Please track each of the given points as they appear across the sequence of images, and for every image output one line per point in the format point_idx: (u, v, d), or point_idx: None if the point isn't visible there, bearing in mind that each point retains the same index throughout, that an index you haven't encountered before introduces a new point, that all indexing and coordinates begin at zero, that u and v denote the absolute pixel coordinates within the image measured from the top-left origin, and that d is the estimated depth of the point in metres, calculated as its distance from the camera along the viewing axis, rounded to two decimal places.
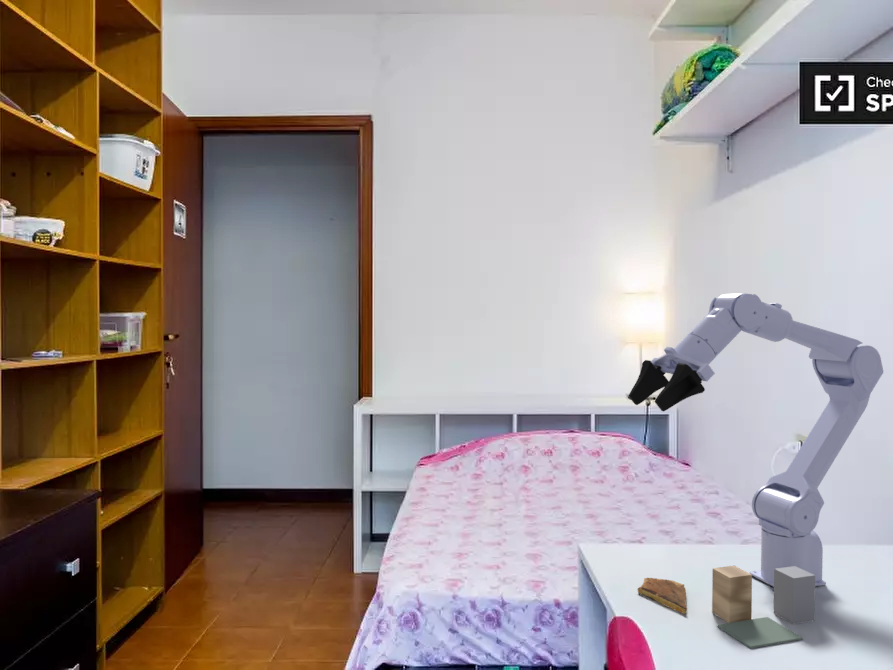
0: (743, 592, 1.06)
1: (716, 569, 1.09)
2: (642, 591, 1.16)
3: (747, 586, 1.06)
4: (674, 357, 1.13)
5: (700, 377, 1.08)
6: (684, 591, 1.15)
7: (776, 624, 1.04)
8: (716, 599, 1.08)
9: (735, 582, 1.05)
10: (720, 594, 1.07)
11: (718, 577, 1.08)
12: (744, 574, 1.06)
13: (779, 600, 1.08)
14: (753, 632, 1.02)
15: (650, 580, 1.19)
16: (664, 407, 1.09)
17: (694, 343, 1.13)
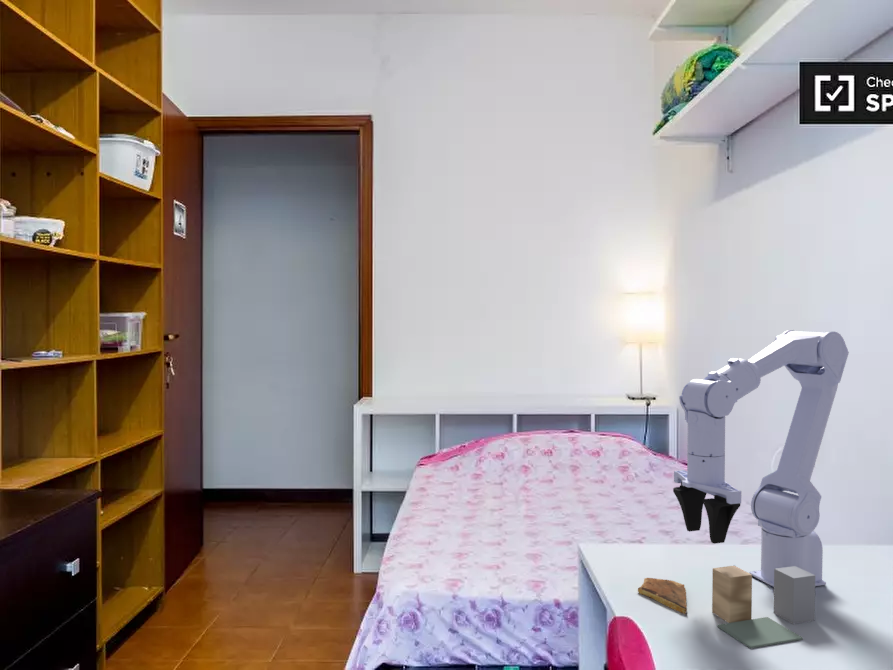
0: (743, 592, 1.06)
1: (716, 569, 1.09)
2: (642, 591, 1.16)
3: (747, 586, 1.06)
4: (696, 487, 1.12)
5: None
6: (684, 591, 1.15)
7: (776, 624, 1.04)
8: (716, 599, 1.08)
9: (735, 582, 1.05)
10: (720, 594, 1.07)
11: (718, 577, 1.08)
12: (744, 574, 1.06)
13: (779, 600, 1.08)
14: (753, 632, 1.02)
15: (650, 580, 1.19)
16: (722, 540, 1.10)
17: (701, 465, 1.11)
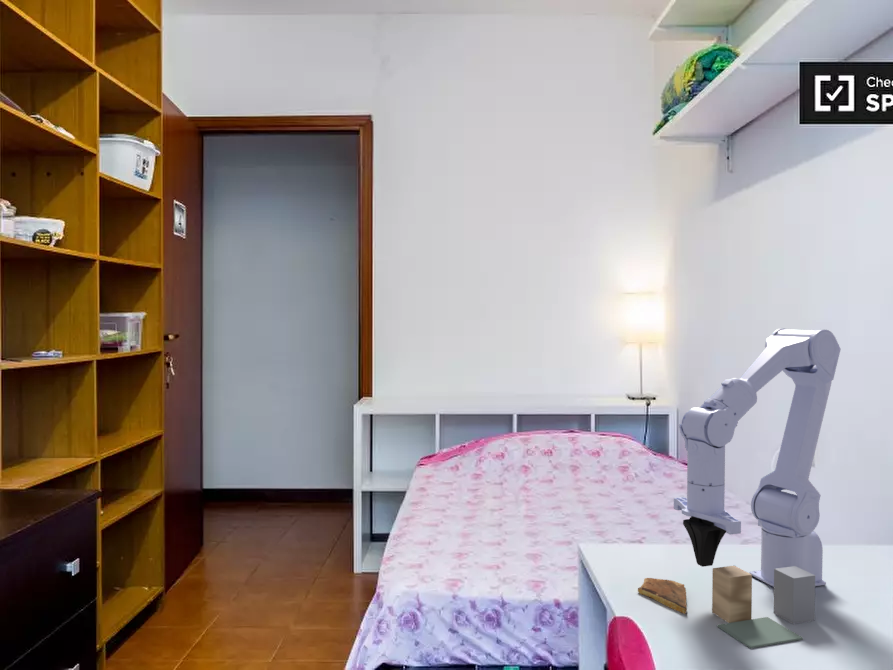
0: (743, 592, 1.06)
1: (716, 569, 1.09)
2: (642, 591, 1.16)
3: (747, 586, 1.06)
4: (695, 516, 1.12)
5: None
6: (684, 591, 1.15)
7: (776, 624, 1.04)
8: (716, 599, 1.08)
9: (735, 582, 1.05)
10: (720, 594, 1.07)
11: (718, 577, 1.08)
12: (743, 574, 1.06)
13: (779, 600, 1.08)
14: (753, 632, 1.02)
15: (650, 580, 1.19)
16: (710, 563, 1.13)
17: (701, 494, 1.11)
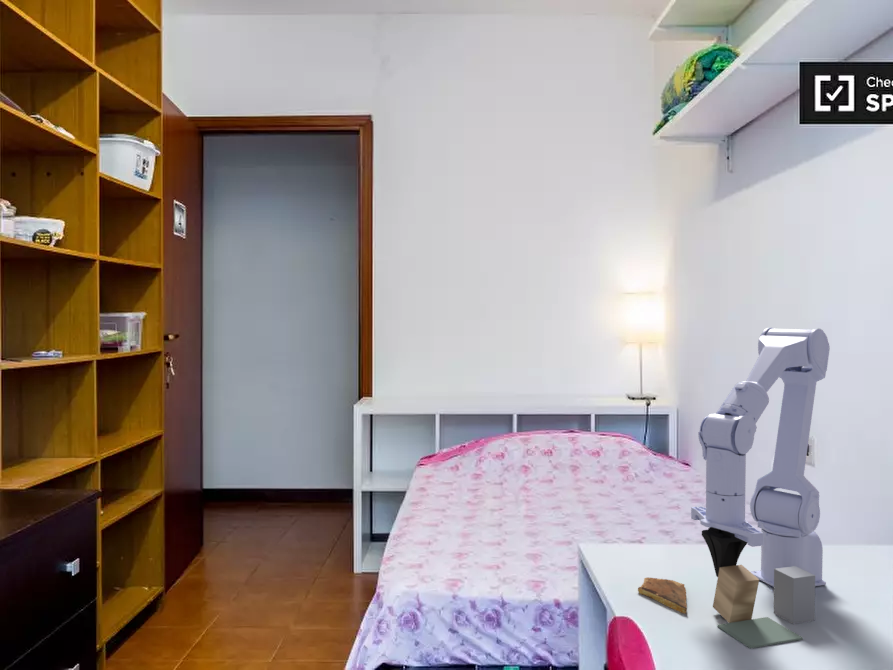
0: (748, 595, 1.05)
1: (723, 569, 1.07)
2: (642, 591, 1.16)
3: (753, 590, 1.05)
4: None
5: None
6: (684, 591, 1.15)
7: (776, 624, 1.04)
8: (719, 597, 1.07)
9: (741, 586, 1.04)
10: (723, 594, 1.06)
11: (724, 577, 1.06)
12: (751, 578, 1.05)
13: (779, 600, 1.08)
14: (753, 632, 1.02)
15: (651, 580, 1.19)
16: None
17: (721, 504, 1.06)
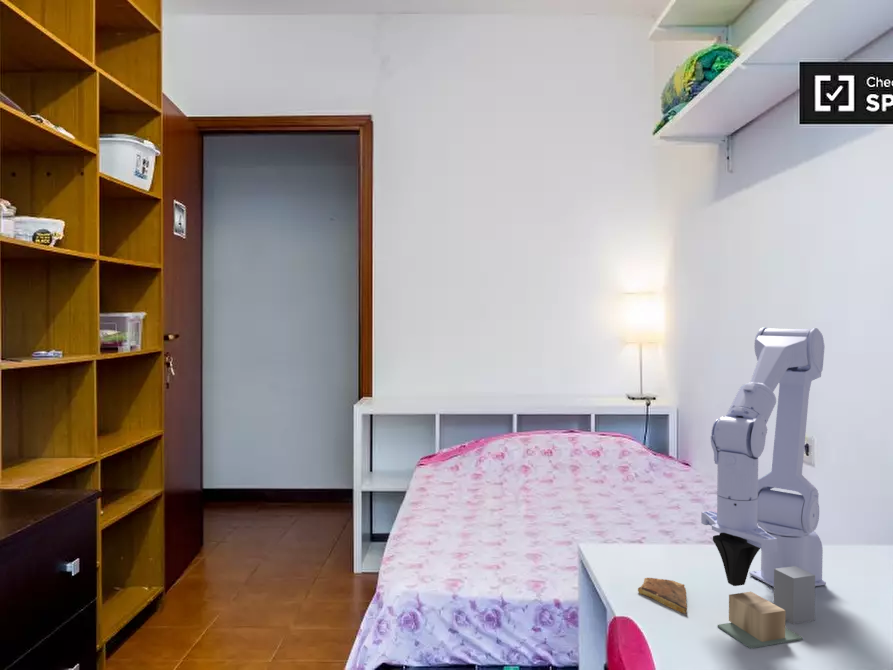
0: None
1: (763, 617, 0.99)
2: (642, 591, 1.16)
3: None
4: (727, 532, 1.05)
5: None
6: (684, 591, 1.15)
7: None
8: (740, 608, 1.03)
9: None
10: (745, 616, 1.02)
11: (757, 621, 1.00)
12: (778, 635, 1.00)
13: (779, 600, 1.08)
14: None
15: (651, 580, 1.19)
16: (742, 582, 1.06)
17: (733, 509, 1.04)
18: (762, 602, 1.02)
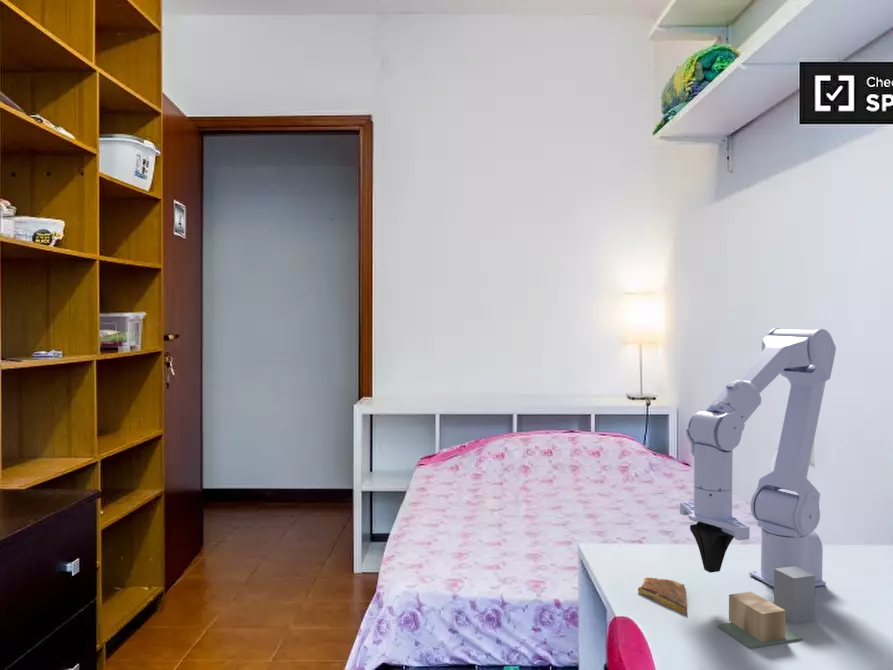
0: None
1: (763, 617, 0.99)
2: (642, 591, 1.16)
3: None
4: (703, 521, 1.10)
5: None
6: (684, 591, 1.15)
7: None
8: (740, 608, 1.03)
9: None
10: (745, 616, 1.02)
11: (757, 621, 1.00)
12: (778, 635, 1.00)
13: (779, 600, 1.08)
14: None
15: (651, 580, 1.19)
16: (718, 568, 1.12)
17: (708, 499, 1.09)
18: (762, 602, 1.02)
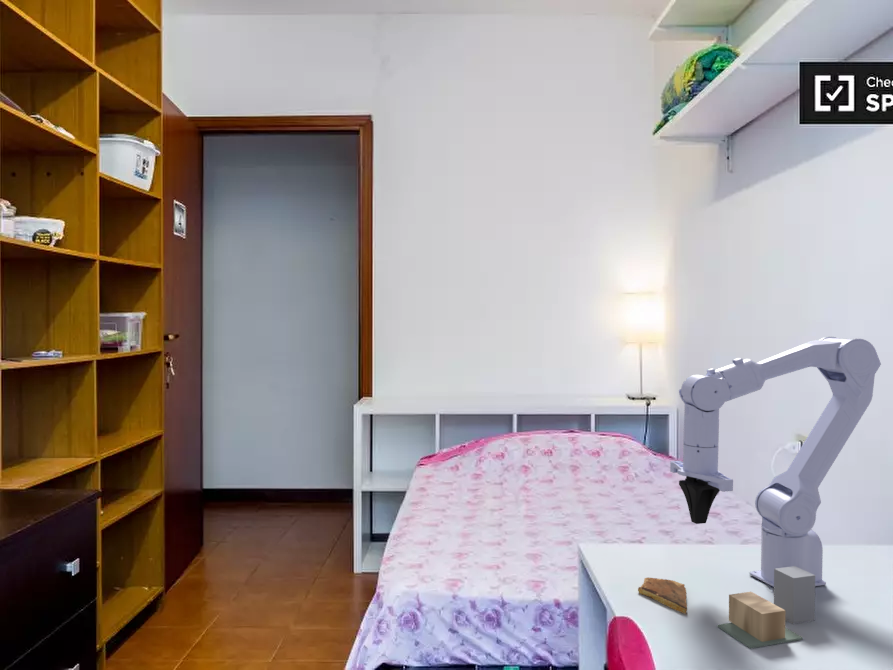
0: None
1: (763, 617, 0.99)
2: (642, 591, 1.16)
3: None
4: None
5: (711, 484, 1.18)
6: (684, 591, 1.15)
7: None
8: (740, 608, 1.03)
9: None
10: (745, 616, 1.02)
11: (757, 621, 1.00)
12: (778, 635, 1.00)
13: (779, 600, 1.08)
14: None
15: (651, 580, 1.19)
16: (704, 520, 1.21)
17: (696, 455, 1.18)
18: (762, 602, 1.02)
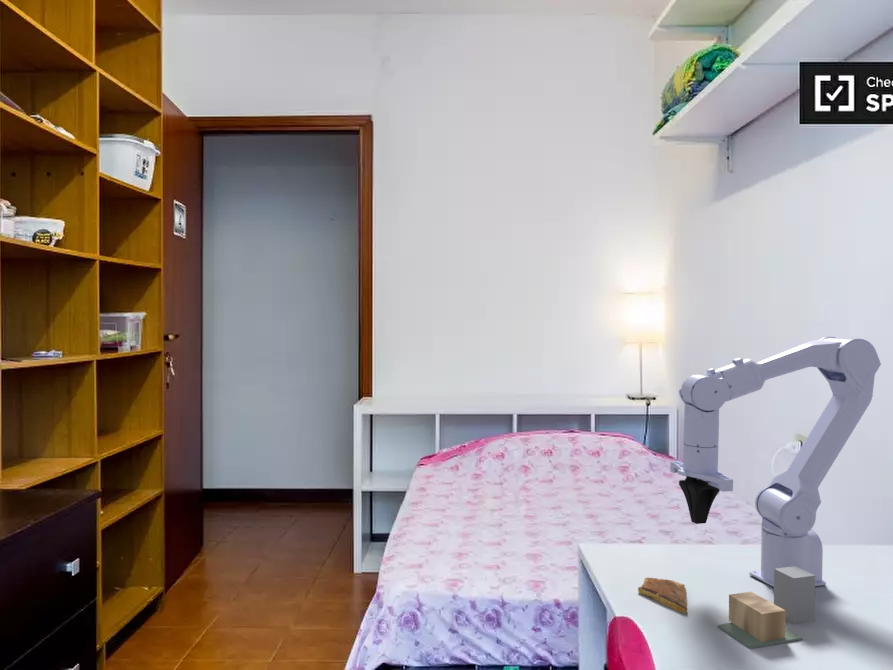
0: None
1: (763, 617, 0.99)
2: (642, 591, 1.16)
3: None
4: None
5: (711, 484, 1.18)
6: (684, 591, 1.15)
7: None
8: (740, 608, 1.03)
9: None
10: (745, 616, 1.02)
11: (757, 621, 1.00)
12: (778, 635, 1.00)
13: (779, 600, 1.08)
14: None
15: (651, 580, 1.19)
16: (704, 520, 1.21)
17: (696, 455, 1.18)
18: (762, 602, 1.02)
